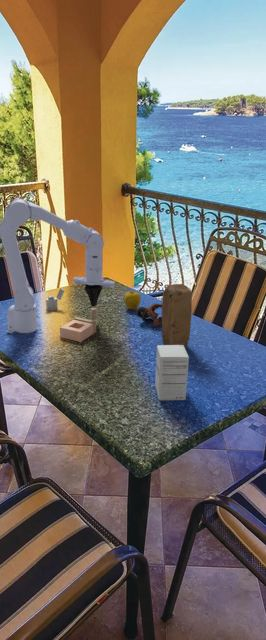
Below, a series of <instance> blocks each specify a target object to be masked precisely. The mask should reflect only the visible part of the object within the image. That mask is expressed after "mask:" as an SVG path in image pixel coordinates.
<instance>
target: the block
mask: <svg viewBox="0 0 266 640" xmlns="http://www.w3.org/2000/svg"><path fill="white" fill-rule="evenodd" d="M192 297H193V296H192V290H191V288H189V287H188V286H187V285H185V284H182V283H173V284H168V285H167V286H166V287H165V289H164V290H163V293H162V299H161V300H162V301H161V304H162V308H161V317H162V324H161V325H162V326H161V339H162V342H163V345H184V347H185V348H186V347H187V346H188V344H189V341H190V337H191V324H192V311H193V308H192V306H193V305H192V303H193V300H192V299H193V298H192Z"/></svg>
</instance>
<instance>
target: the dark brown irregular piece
mask: <svg viewBox="0 0 266 640" xmlns="http://www.w3.org/2000/svg"><path fill="white" fill-rule="evenodd" d="M159 308H161V309H162V303H161V304H160V303H153V304H151V305H150V306H148V307H143V306H138V308H137V309H135V311H136V312H135V313H136V315H137V316H138V318H140V319H141V320H142V321H146V320H147V319H148V318H151V319H152V320H153V323H152V327H153V328H157V327H158V326H161V325H162V316H159V313H157V312H156V310H158V309H159Z"/></svg>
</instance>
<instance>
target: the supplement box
mask: <svg viewBox="0 0 266 640" xmlns="http://www.w3.org/2000/svg"><path fill="white" fill-rule="evenodd" d="M189 362H190V357H189V354H188V352H187V350H186V347H184V345H165V344H160V345H157V346H156V363H155V383H154V388H155V390H156V394H157V399H158V401H186V397H187V384H188V373H189Z"/></svg>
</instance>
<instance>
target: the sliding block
mask: <svg viewBox="0 0 266 640" xmlns="http://www.w3.org/2000/svg"><path fill="white" fill-rule="evenodd" d="M94 334H95V333H94V324H91V323H86V322H82V321H77V320H74V319H72V320H70V321H68V322H67V323H65V324H63V325H62V326H60V327H59V338H61V339H66V340H69V341H70V340H71V341H76V342H79V343H82V342H83V341H85V340H86V339H88V338H89V337H91V336H93V335H94Z"/></svg>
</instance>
